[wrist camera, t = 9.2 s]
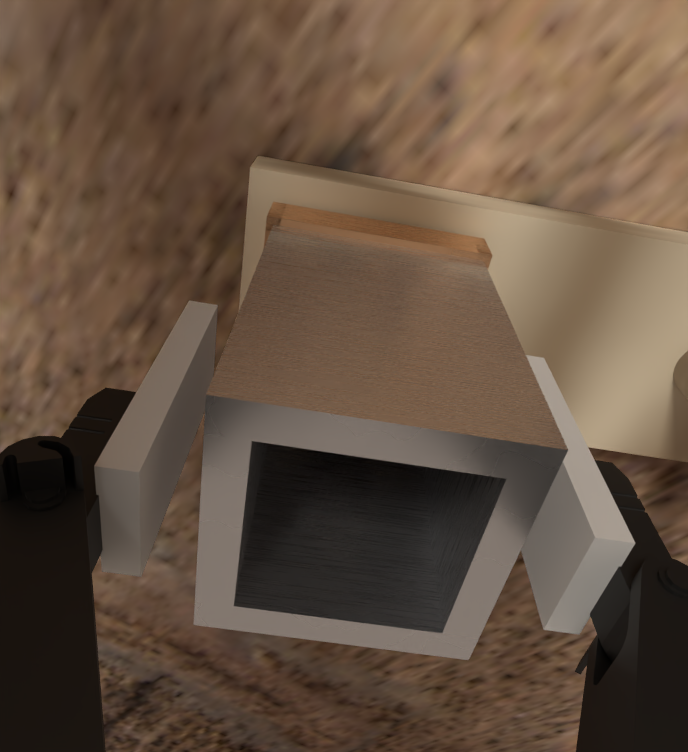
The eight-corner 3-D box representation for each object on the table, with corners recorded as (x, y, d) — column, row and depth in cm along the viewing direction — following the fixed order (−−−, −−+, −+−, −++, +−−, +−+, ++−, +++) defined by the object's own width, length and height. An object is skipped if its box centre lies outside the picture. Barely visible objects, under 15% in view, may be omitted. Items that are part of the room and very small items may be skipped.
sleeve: (255, 377, 21) (184, 629, 13) (274, 199, 18) (194, 382, 9) (431, 405, 22) (475, 666, 13) (483, 236, 18) (584, 442, 10)
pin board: (239, 370, 23) (191, 514, 17) (257, 155, 19) (203, 238, 12) (735, 447, 24) (866, 608, 18) (858, 262, 20) (1086, 386, 14)
